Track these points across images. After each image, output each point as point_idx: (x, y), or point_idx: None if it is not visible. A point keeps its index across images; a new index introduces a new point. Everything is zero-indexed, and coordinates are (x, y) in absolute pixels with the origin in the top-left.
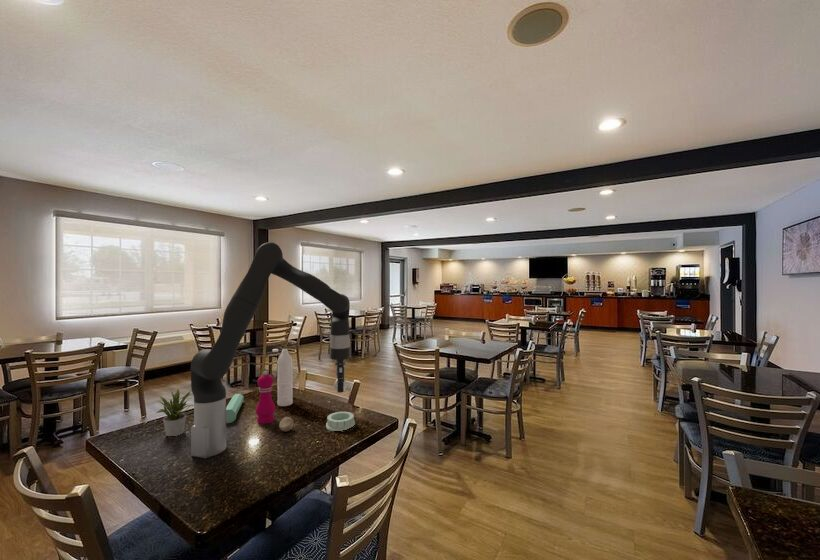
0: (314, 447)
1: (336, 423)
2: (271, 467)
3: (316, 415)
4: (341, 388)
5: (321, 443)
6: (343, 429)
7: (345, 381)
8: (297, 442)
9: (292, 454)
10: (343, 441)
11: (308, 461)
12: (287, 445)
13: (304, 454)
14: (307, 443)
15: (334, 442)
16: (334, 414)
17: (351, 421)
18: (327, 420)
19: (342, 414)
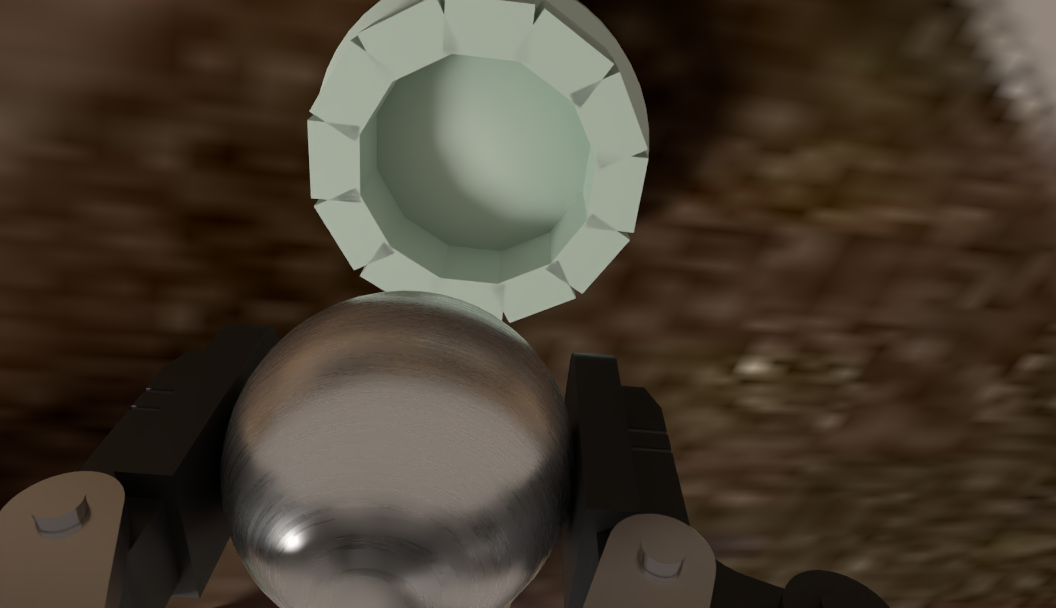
0: (854, 394)
1: (625, 235)
2: (972, 601)
3: (156, 342)
4: (662, 451)
5: (812, 344)
6: (647, 139)
7: (454, 423)
8: (702, 488)
9: (876, 515)
10: (882, 165)
11: (1049, 438)
12: (719, 538)
13: (925, 455)
14: (755, 433)
15: (855, 245)
16: (385, 238)
17: (596, 44)
18: (511, 314)
19: (363, 134)
